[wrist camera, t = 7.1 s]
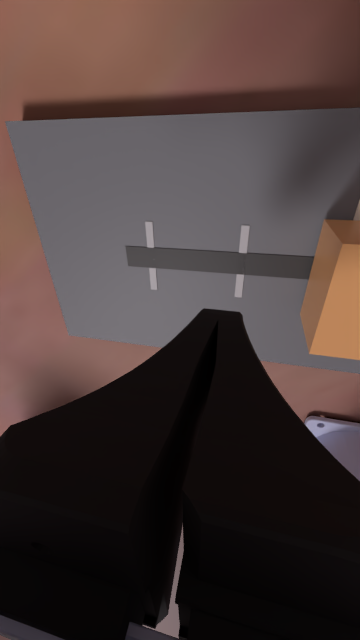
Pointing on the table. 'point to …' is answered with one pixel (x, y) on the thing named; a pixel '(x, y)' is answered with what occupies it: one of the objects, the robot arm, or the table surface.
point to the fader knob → (334, 292)
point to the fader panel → (190, 219)
